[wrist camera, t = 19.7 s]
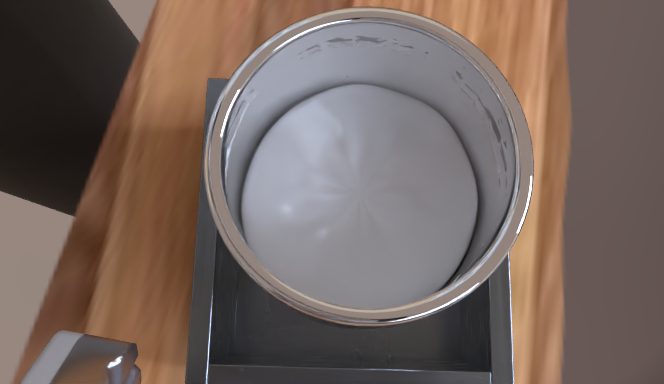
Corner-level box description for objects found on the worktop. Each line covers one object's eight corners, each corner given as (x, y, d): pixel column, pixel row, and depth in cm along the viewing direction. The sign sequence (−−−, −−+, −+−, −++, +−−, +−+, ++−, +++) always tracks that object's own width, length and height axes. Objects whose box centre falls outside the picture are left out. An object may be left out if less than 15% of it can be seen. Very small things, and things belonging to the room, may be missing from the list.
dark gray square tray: (218, 369, 25) (184, 387, 20) (233, 124, 28) (207, 77, 22) (475, 376, 25) (515, 396, 20) (469, 129, 28) (503, 83, 22)
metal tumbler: (452, 214, 26) (603, 93, 11) (379, 350, 25) (443, 411, 10) (322, 142, 27) (305, -59, 12) (245, 270, 26) (122, 220, 11)
